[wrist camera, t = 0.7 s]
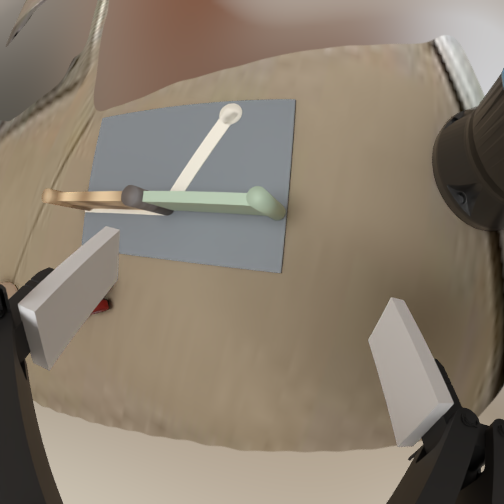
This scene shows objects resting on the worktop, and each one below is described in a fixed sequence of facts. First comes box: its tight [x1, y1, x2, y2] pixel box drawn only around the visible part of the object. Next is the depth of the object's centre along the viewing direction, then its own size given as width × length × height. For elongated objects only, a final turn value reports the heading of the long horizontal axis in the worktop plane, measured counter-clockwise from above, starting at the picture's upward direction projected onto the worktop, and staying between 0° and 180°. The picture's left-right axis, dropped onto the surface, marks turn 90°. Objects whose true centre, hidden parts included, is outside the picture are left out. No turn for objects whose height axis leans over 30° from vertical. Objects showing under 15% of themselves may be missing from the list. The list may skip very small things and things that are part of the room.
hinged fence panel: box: [142, 186, 286, 220], centre depth 34 cm, size 14×2×9 cm, turn 85°
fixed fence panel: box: [42, 185, 174, 216], centre depth 39 cm, size 17×2×10 cm, turn 85°
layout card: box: [82, 99, 296, 273], centre depth 42 cm, size 32×22×1 cm
